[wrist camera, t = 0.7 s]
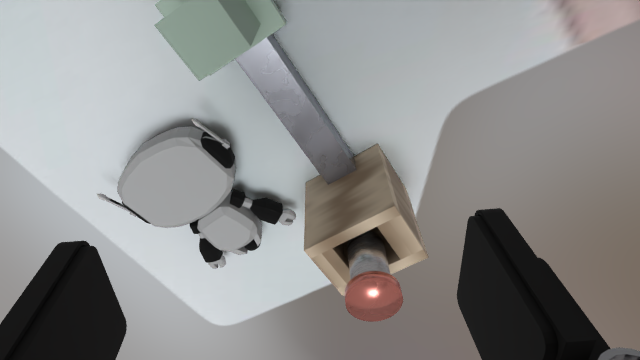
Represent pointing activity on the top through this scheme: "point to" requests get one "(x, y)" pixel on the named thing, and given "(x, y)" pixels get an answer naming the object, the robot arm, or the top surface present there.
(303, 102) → the rail
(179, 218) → the robot toy
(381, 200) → the open wooden box
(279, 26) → the carriage
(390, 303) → the plunger
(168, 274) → the top surface
